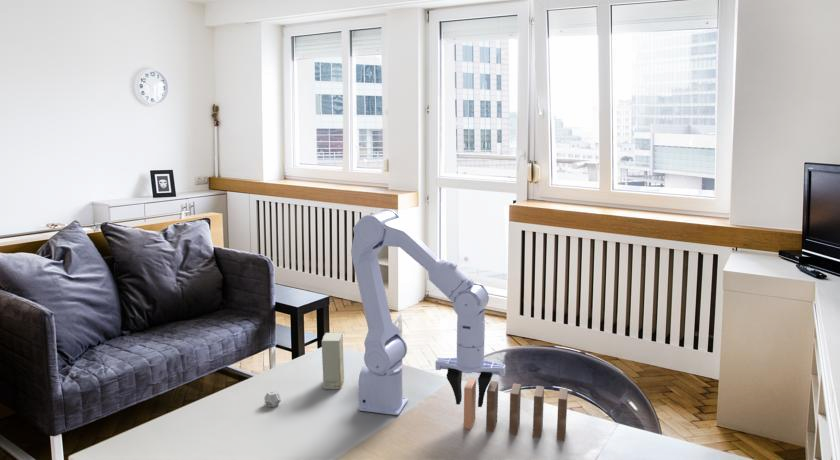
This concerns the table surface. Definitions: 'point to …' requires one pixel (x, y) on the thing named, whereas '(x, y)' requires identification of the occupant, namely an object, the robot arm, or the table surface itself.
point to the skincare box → (332, 360)
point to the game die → (272, 398)
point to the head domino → (469, 403)
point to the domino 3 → (538, 411)
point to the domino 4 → (562, 414)
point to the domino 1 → (492, 406)
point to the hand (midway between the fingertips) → (469, 403)
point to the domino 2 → (515, 409)
